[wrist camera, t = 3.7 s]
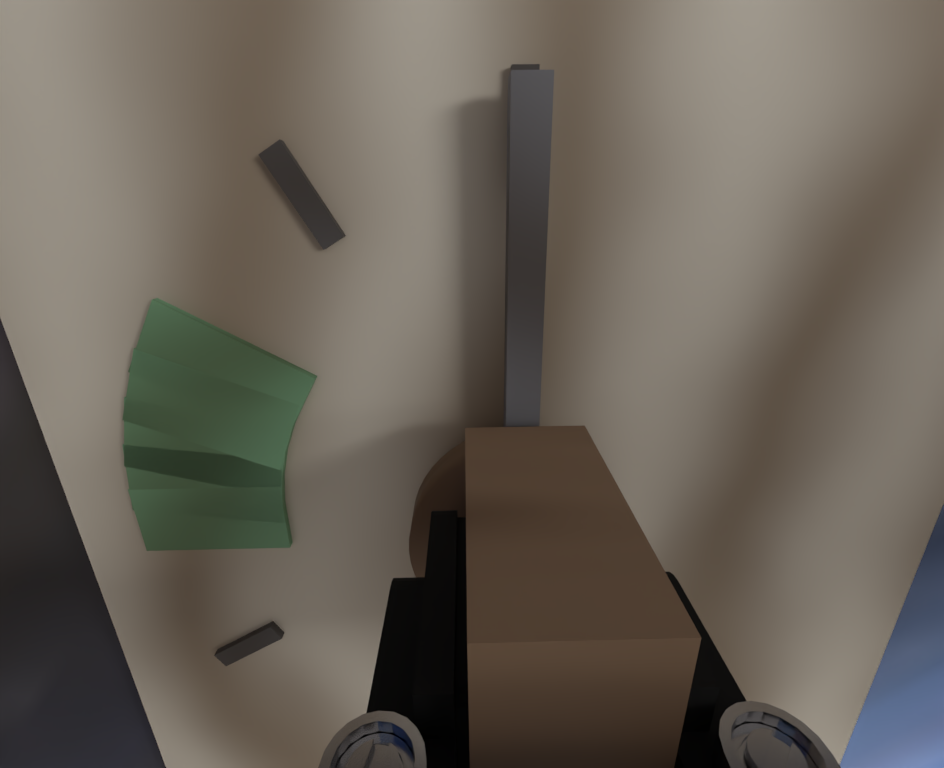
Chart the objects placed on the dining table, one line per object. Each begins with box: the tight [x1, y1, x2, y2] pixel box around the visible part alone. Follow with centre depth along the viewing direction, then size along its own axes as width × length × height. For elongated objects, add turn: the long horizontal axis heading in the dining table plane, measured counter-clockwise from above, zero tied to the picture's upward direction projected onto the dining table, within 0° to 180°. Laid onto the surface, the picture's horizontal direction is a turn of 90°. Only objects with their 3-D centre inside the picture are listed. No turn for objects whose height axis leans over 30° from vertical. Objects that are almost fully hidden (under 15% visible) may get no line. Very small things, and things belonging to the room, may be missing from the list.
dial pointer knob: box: [409, 70, 701, 768], centre depth 8 cm, size 12×5×6 cm, turn 1°
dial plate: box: [0, 0, 944, 768], centre depth 13 cm, size 22×24×2 cm
